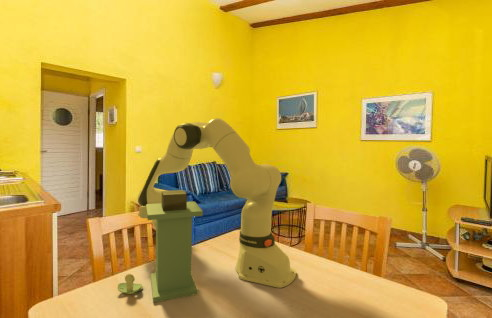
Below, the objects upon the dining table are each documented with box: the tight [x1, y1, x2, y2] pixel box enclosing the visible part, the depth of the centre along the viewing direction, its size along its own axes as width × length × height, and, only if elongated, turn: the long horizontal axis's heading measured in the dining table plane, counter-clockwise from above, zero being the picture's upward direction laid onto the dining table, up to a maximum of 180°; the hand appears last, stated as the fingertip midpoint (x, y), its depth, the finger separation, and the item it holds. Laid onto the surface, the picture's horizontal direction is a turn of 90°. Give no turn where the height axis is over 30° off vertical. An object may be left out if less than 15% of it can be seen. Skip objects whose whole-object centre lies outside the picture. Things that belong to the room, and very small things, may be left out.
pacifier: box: [117, 273, 144, 295], centre depth 86 cm, size 7×6×6 cm
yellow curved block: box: [162, 189, 188, 211], centre depth 92 cm, size 18×7×5 cm, turn 22°
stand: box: [146, 200, 204, 303], centre depth 89 cm, size 15×16×26 cm
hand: (166, 205), depth 109 cm, fingers open, 8 cm apart
